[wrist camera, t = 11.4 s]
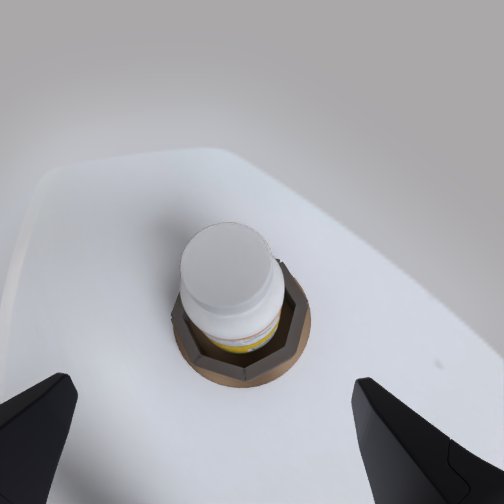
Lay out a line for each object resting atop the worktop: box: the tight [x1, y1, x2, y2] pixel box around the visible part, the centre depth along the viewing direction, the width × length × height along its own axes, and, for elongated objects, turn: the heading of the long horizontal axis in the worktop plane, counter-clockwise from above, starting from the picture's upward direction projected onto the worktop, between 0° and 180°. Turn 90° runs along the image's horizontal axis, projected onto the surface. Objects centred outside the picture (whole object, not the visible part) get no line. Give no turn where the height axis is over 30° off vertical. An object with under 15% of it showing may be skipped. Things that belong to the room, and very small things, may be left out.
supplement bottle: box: [180, 223, 285, 354], centre depth 17 cm, size 5×5×10 cm
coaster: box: [171, 259, 311, 388], centre depth 21 cm, size 10×10×3 cm
